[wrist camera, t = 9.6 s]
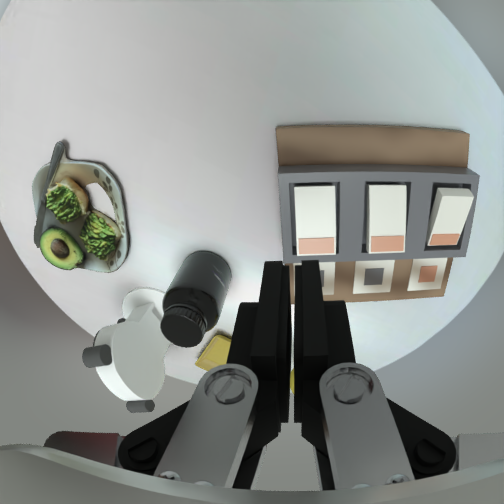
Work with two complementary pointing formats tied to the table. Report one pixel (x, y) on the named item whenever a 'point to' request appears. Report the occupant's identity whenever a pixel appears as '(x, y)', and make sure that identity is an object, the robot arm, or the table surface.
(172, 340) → the supplement bottle
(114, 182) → the salad plate
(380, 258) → the switch housing
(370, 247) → the rocker
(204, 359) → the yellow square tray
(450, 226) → the rocker
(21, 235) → the table surface
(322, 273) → the board
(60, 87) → the table surface
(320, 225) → the rocker
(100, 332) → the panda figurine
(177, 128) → the table surface
